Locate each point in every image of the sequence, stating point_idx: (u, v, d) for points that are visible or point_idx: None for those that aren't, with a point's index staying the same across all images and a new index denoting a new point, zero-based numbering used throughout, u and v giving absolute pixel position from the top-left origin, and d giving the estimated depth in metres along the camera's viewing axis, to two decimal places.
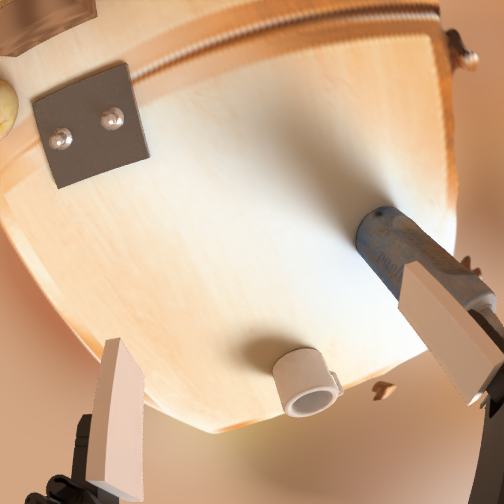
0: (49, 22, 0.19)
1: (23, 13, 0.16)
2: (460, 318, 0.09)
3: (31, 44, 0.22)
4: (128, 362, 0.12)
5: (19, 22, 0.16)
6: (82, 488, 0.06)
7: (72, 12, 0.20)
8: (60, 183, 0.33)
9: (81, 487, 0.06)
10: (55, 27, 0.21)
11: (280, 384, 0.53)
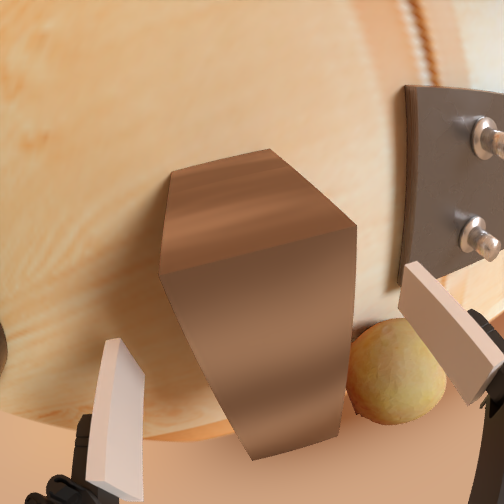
0: None
1: (297, 390, 0.10)
2: (460, 318, 0.09)
3: None
4: (128, 362, 0.12)
5: (319, 392, 0.10)
6: (82, 488, 0.06)
7: None
8: (502, 243, 0.19)
9: (81, 487, 0.06)
10: None
11: None
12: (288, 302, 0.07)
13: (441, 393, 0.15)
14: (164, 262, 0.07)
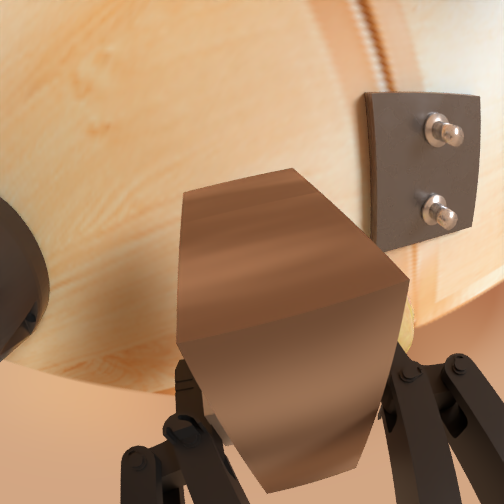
0: None
1: (322, 436, 0.08)
2: None
3: None
4: None
5: (344, 436, 0.09)
6: (205, 431, 0.08)
7: None
8: (468, 221, 0.25)
9: (205, 429, 0.08)
10: None
11: None
12: (326, 363, 0.06)
13: (408, 337, 0.21)
14: (182, 324, 0.06)
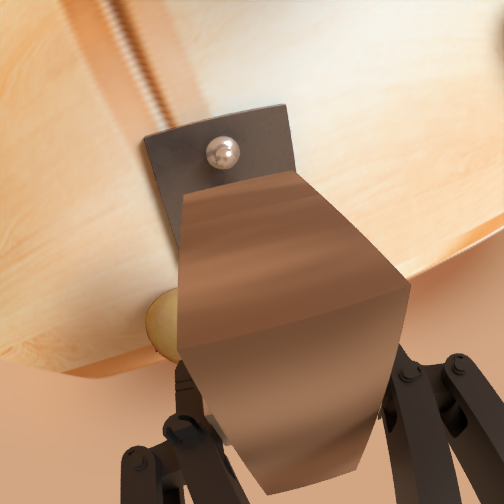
0: None
1: (323, 440, 0.08)
2: None
3: None
4: None
5: (344, 439, 0.09)
6: (205, 431, 0.08)
7: None
8: None
9: (205, 429, 0.08)
10: None
11: None
12: (326, 367, 0.06)
13: None
14: (182, 329, 0.05)
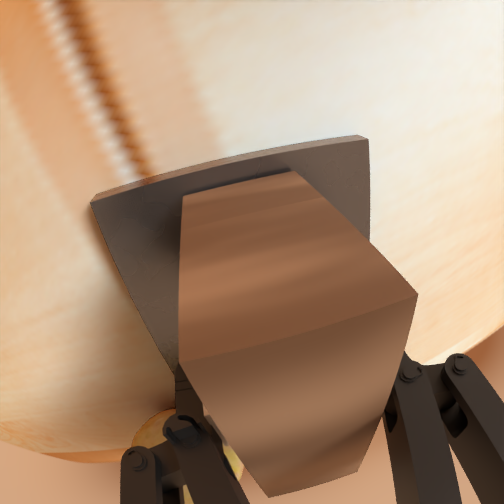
0: None
1: (325, 445, 0.08)
2: None
3: None
4: None
5: (346, 443, 0.09)
6: (205, 431, 0.08)
7: None
8: None
9: (205, 430, 0.08)
10: None
11: None
12: (331, 377, 0.06)
13: None
14: (184, 341, 0.05)
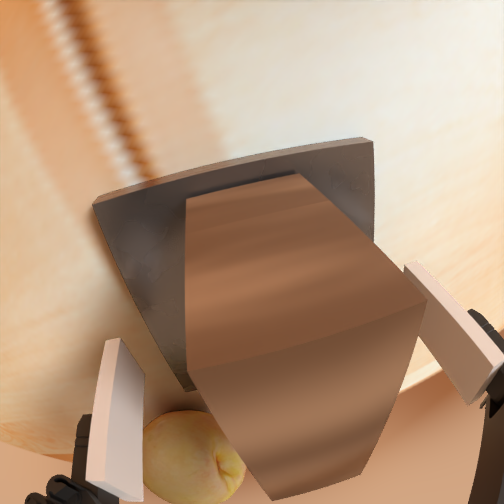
0: None
1: (331, 449, 0.08)
2: (460, 318, 0.09)
3: None
4: (128, 362, 0.12)
5: (351, 447, 0.08)
6: (82, 488, 0.06)
7: None
8: None
9: (81, 487, 0.06)
10: None
11: None
12: (339, 383, 0.06)
13: (210, 498, 0.14)
14: (192, 349, 0.05)
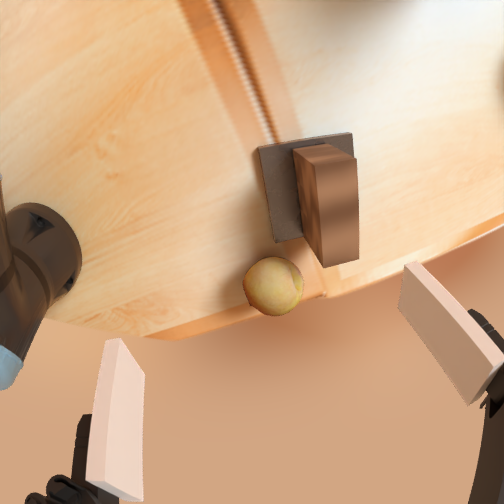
0: None
1: (343, 214, 0.31)
2: (460, 318, 0.09)
3: None
4: (128, 362, 0.12)
5: (350, 218, 0.32)
6: (82, 488, 0.06)
7: None
8: None
9: (81, 487, 0.06)
10: None
11: None
12: (341, 177, 0.29)
13: (289, 293, 0.38)
14: (314, 164, 0.29)
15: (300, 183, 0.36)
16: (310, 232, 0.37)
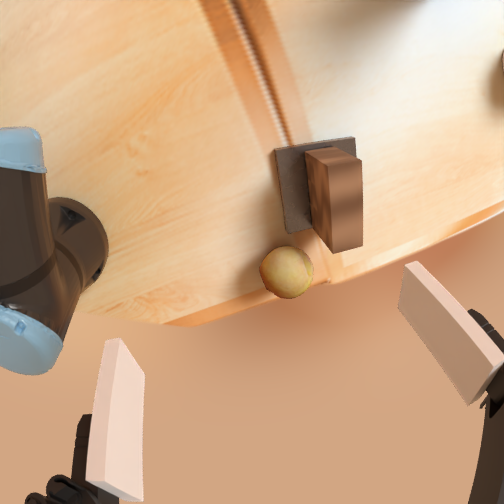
0: None
1: (350, 207, 0.37)
2: (460, 318, 0.09)
3: None
4: (128, 362, 0.12)
5: (355, 211, 0.37)
6: (82, 488, 0.06)
7: None
8: None
9: (81, 487, 0.06)
10: None
11: None
12: (349, 175, 0.35)
13: (302, 277, 0.43)
14: (326, 164, 0.34)
15: (311, 181, 0.41)
16: (320, 223, 0.42)
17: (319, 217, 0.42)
